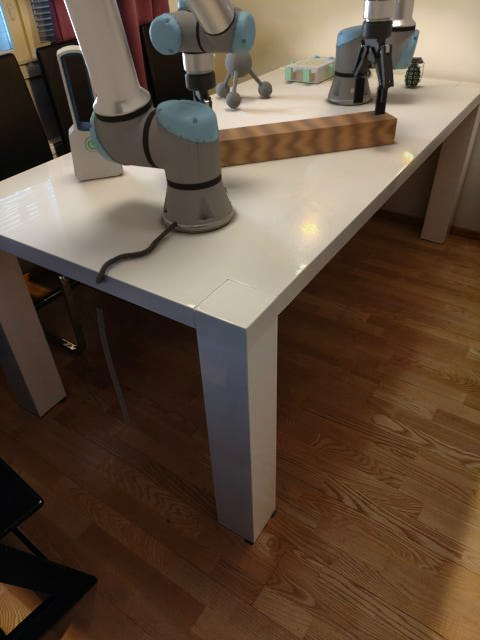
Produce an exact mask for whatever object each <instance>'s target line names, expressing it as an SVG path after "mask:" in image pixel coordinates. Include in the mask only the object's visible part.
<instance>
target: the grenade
mask: <svg viewBox="0 0 480 640" xmlns="http://www.w3.org/2000/svg"><path fill="white" fill-rule="evenodd" d="M421 64H422V66H420V65H421ZM425 64H426V63H425V61H424V60H423V58H422V56H421V57H420V56H416V57H415V56H413V58H412V61H411V64H410V66H409V67H408V68H407V69H406V71H405V74H404V85H405V86H406V88H408V89H412V88H413V89H414V88H415V87H417V86H418V85H419V84H420V82H421V81H422V78H423V74H424V71H421V68H422V70H424V69H425Z"/></svg>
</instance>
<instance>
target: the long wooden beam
mask: <svg viewBox="0 0 480 640" xmlns="http://www.w3.org/2000/svg"><path fill="white" fill-rule="evenodd" d="M374 112H375V110H369V111H360V112H352V113H344V114H336V115H328V116H321V117H311V118H303V119H296V120H287V121H278V122H272V123H271V122H270V123H264V124H256V125H255V124H254V125H248V126H247V125H245V126H238V127H232V128H231V127H230V128H222V129H219V132H220V135H219V143H220V158H221V168H223V167H230V166H231V167H232V166H237V165H245V164H246V165H247V164H254V163H260V162H267V161H274V160H281V159H282V160H283V159H289V158H297V157H303V156H311V155H318V154H319V155H320V154H327V153H332V152H333V153H334V152H341V151H348V150H349V151H350V150H356V149H363V148H370V147H377V146H383V145H392V144H393V145H394V144H395V138H396V133H397V132H396V131H397V125H398V124H397V123H398V118H397V117H396V116H394V115H392V114H391V113H388V112H386V111H385V114H383V115H374Z"/></svg>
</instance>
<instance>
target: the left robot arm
mask: <svg viewBox="0 0 480 640" xmlns="http://www.w3.org/2000/svg"><path fill="white" fill-rule="evenodd" d="M63 2H64V4H65V8H66V10H67V13H68V17H69V20H70V23H71V25H72V28H73V32H74V34H75V37H76V39H77V42H78V46H80V48H81V51H82V54H83V57H84V60H85V63H86V66H87V70H88V71H89V73H88V75H89V74H90V77H91V80H92V83H93V86H94V89H95V92H96V97H97V98H96V100H95V101H94V104H92V109H93V111H92V113H91V116H90V119H89V122H90V124H91V125H92V128H90V135H91V139H92V142H93V144H94V147H95V148H96V150H97V151H98V153H99V154H100V155H101V156H102V157H103V158H104V159H106V160H108V161H110V162H113V163H118V164H121V165H122V166H124V167H125V166H127V167H129V166H132V167H133V166H134V167H142V168H150V169H158V170H163V171H164V174H165V180H166V190H165V191H166V192H165V196H164V203H163V207H162V218H163V222H164V224H165V226H167V227H166V228H165V229H164V230H163V231H162V232H161V233H160V234H159V235H157V237H156V238H154V240H153V241H152V242H151V243H150V244H149V245H148V247H146V248H145V249H142V250H140V251H134V252H126V253H121V254H117V255H116V256H113V257H112V258H109V259H107V260H106V261H105V262H104V263H103V264H102V266H101V267H100V269H99V271H98V274H97V276H96V280H95V284H96V285H99V284H101V283H102V282H103V279H104V276H105V273H106V271H107V269H108V268H109V267H110V266H112V265H113V264H115V263H117V262H119V261H122V260H125V259H131V258H132V259H133V258H140V257H143V256H146V255H148V254H150V253H151V252H152V251H153V250H154V249H155V248H156V246H157V245H158V244H159V243H160V242H161V241H162V240H163V239H164V238H165V237H167V235H169V234H170V232H172V231H177V232H180V233H190V234H191V233H192V234H193V233H194V234H195V233H196V234H197V233H205V232H206V233H207V232H210V231H215V230H216V229H220V228H222V227H224V226H226V225H227V224H228V223H230V221H231V220H232V218H233V216H234V212H233V211H234V210H233V205H232V201H231V200H230V197H229V195H228V193H229V192H228V190H227V187H226V186H225V184H224V182H223V175H222V174H223V173H222V167H221V158H220V143H219V135H220V132H219V130H220V129H219V123H218V117H217V113H216V112H215V111H214V109H213V101H212V100H213V99H212V97H211V96H210V94H209V91H210V90H213V89H216V86H217V79H216V71H215V61H214V60H215V59H217V55H216V54H215V53H217V54H219V53H220V54H228V53H232V54H235V53H246V52H249V53H250V51H251V50H252V49H253V47H254V44H255V40H256V33H257V30H256V22H255V18H254V16H253V14H252V13H251V12H248V11H243V10H242V11H238V12H237V11H236V10H235V8H234V7H235V6H234V4H233V3H232V1H231V0H177V9H176V11H171V12H164V13H162V14H161V15H158V16H156V17H155V18H154V19H153V20H152V21H151V23H150V25H149V26H150V27H149V38H150V42H151V44H152V46H153V48H154V49H155V50H156V51H157V52H158V53H160V54H162V55H165V56H169V55H170V56H171V55H176V54H178V53H182V63H183V71H185V73H184V77H185V78H184V79H185V88H186V89H187V90H188V91H191V92H192V94H193V100H191V99H179V100H178V99H169V100H166V101H162V102H160V103H159V104H158V105H157V106H156V107H154V103H153V100H152V97H151V94H150V92H149V90H147V89H145V88H144V87H142V86H141V85H140V82H139V78H138V75H137V71H136V68H135V64H134V60H133V56H132V53H131V49H130V46H129V42H128V37H127V34H126V31H125V27H124V24H123V20H122V17H121V16H122V15H121V13H120V10H119V9H120V8H119V6H118V3H117V0H63ZM96 317H97V323H98V329H99V335H100V340H101V345H102V348H103V349H102V350H103V354H104V356H105V360H106V363H107V367H108V371H109V374H110V377H111V380H112V383H113V386H114V389H115V392H116V395H117V398H118V402H119V405H120V408H121V411H122V415H123V419H124V423H125V424H126V425H129V424H130V423H131V420H130V417H129V413H128V409H127V406H126V402H125V398H124V396H123V392H122V389H121V386H120V384H119V383H120V382H119V379H118V377H117V374H116V371H115V367H114V364H113V359H112V356H111V353H110V348H109V345H108V339H107V334H106V328H105V321H104V313H103V309H102V308H100V307H96Z"/></svg>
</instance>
